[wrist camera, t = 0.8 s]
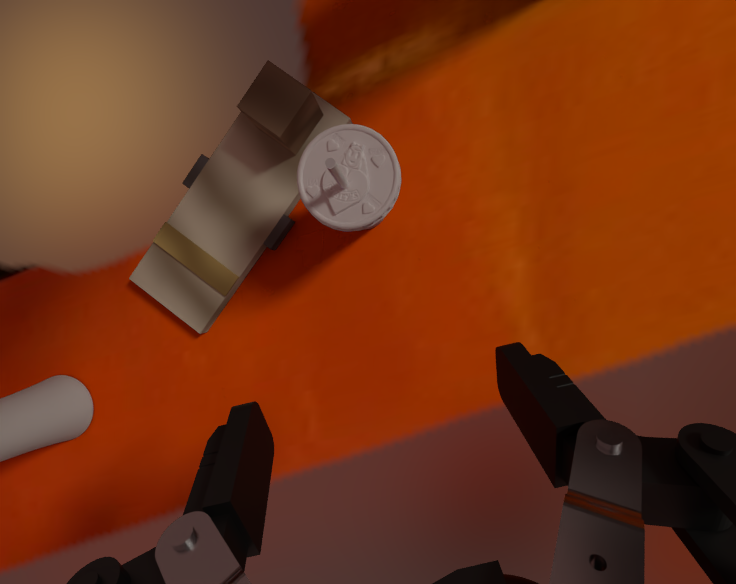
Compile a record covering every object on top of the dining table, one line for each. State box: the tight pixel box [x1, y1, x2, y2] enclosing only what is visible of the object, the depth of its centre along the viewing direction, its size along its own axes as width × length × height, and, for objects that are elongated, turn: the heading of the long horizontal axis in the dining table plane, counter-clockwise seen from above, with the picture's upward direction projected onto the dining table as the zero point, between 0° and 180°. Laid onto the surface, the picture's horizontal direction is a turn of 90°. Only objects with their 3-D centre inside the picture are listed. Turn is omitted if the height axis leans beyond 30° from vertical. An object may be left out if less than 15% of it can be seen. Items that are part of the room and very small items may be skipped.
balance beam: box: [129, 61, 352, 334], centre depth 32 cm, size 22×10×5 cm, turn 144°
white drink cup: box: [297, 124, 401, 232], centre depth 26 cm, size 6×6×14 cm
